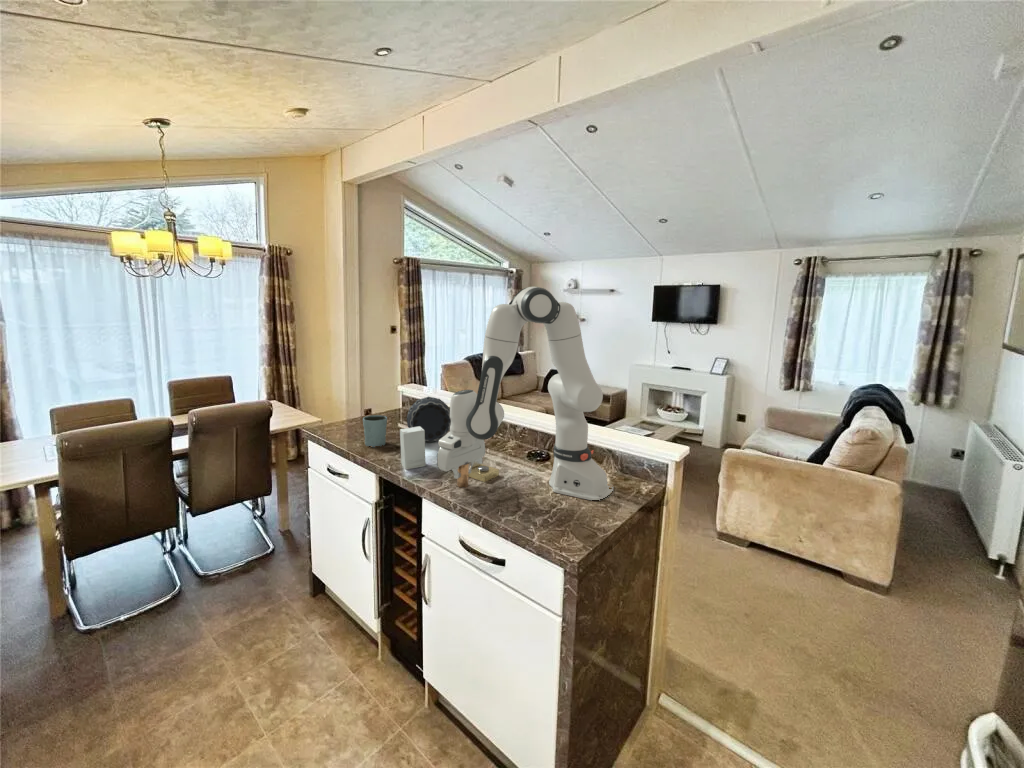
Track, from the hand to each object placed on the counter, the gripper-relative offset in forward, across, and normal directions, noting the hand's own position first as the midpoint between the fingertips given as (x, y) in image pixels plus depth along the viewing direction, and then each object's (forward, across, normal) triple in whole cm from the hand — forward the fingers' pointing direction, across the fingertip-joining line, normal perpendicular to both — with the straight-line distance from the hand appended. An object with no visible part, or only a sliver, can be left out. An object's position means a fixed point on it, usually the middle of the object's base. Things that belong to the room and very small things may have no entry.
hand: (462, 475), depth 152 cm
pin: (+4, 0, 0) cm, 4 cm away
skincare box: (+4, -1, -27) cm, 27 cm away
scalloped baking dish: (+4, -27, -46) cm, 53 cm away
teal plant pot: (+4, -8, -60) cm, 61 cm away
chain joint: (+4, -11, -8) cm, 14 cm away
